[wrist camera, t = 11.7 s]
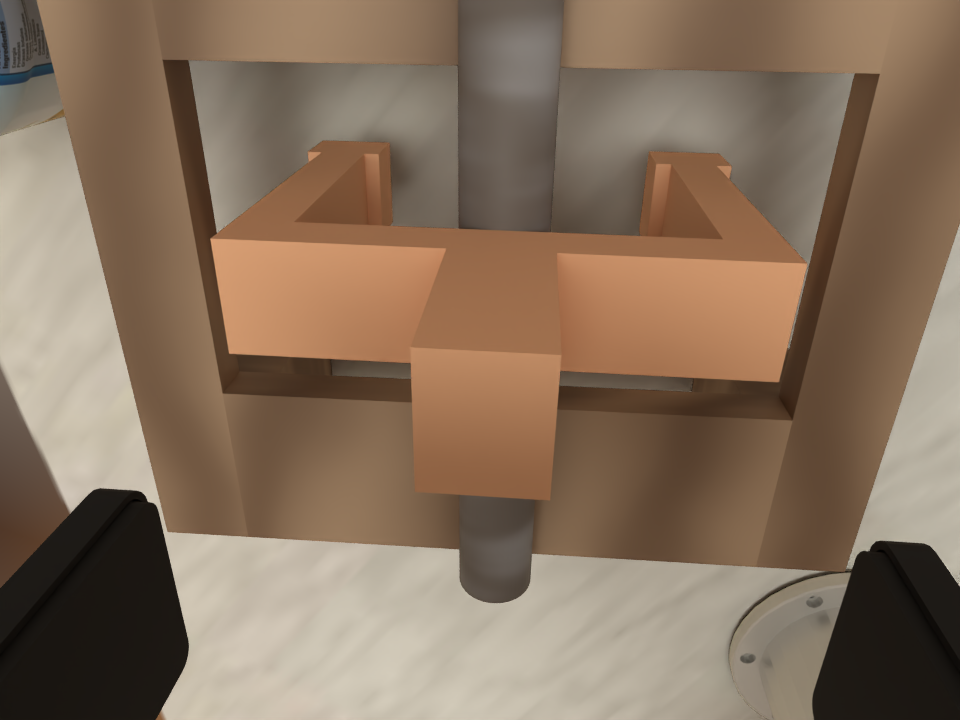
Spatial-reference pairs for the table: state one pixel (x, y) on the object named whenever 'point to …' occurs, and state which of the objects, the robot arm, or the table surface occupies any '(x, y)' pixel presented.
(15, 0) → the beverage bottle
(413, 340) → the tabbed u-shaped bracket
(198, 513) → the shelf
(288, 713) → the table surface
